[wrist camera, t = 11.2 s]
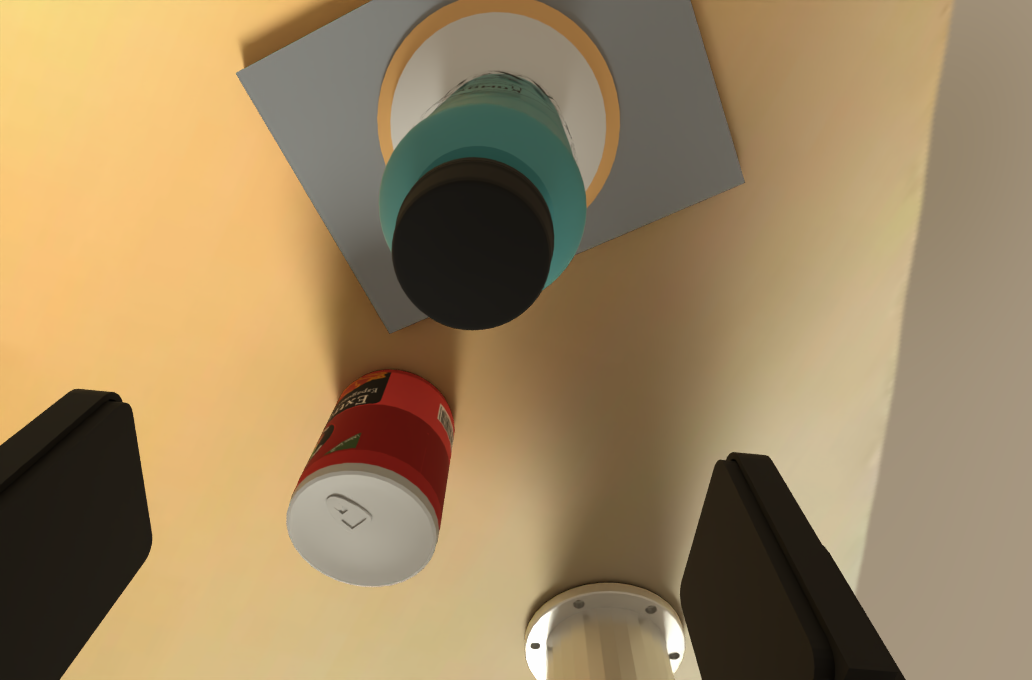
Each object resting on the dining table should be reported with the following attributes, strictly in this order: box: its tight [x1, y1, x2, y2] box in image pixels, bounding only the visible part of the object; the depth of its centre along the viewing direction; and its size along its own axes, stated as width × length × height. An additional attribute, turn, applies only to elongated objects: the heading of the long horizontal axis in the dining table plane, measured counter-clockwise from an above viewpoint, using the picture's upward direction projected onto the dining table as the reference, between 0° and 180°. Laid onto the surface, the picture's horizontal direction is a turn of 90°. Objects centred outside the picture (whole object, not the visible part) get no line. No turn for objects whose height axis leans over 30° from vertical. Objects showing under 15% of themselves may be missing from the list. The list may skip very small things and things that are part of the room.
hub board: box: [236, 0, 745, 334], centre depth 34 cm, size 16×22×2 cm
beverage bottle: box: [379, 70, 587, 330], centre depth 24 cm, size 6×7×20 cm
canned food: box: [287, 370, 455, 587], centre depth 38 cm, size 8×8×11 cm
